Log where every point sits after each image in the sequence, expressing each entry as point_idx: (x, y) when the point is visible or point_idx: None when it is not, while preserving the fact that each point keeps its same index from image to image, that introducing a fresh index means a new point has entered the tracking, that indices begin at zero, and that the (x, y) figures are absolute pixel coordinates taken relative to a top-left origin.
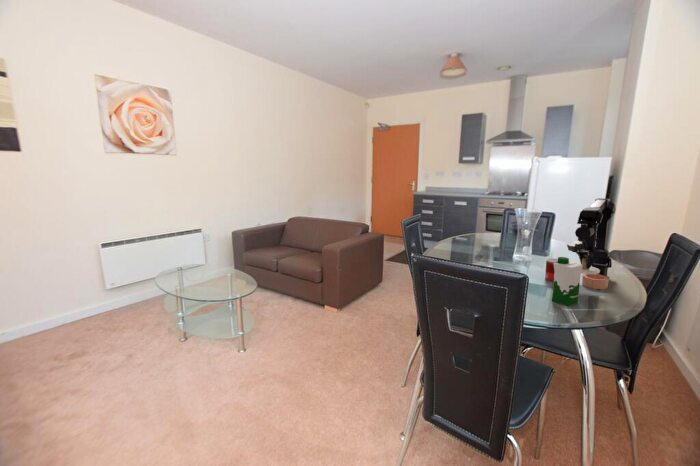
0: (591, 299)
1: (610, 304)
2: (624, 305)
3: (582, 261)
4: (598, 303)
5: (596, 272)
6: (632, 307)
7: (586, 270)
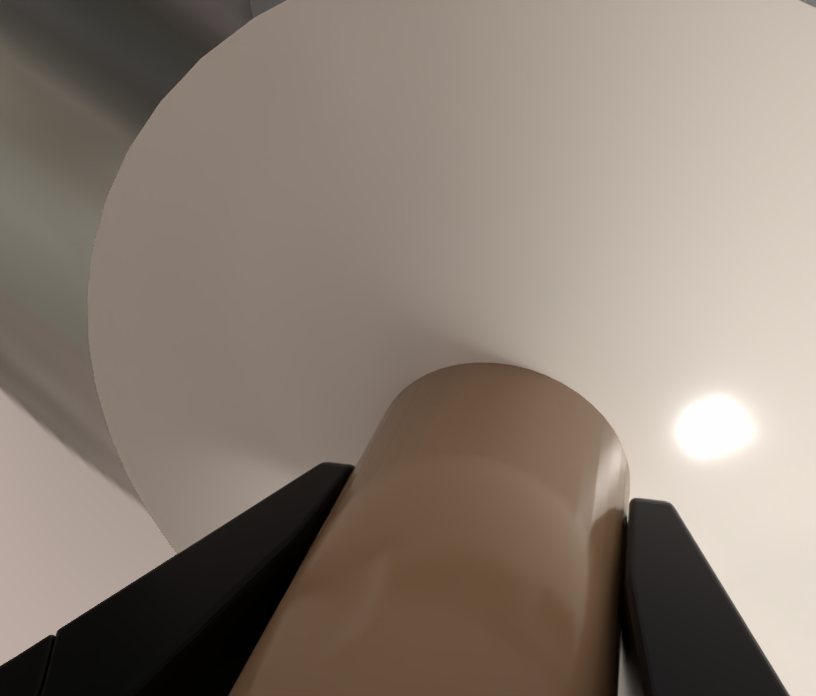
0: (157, 52)
1: (33, 200)
2: (51, 335)
3: (425, 631)
4: (19, 57)
5: (153, 499)
6: (18, 370)
7: (263, 359)
